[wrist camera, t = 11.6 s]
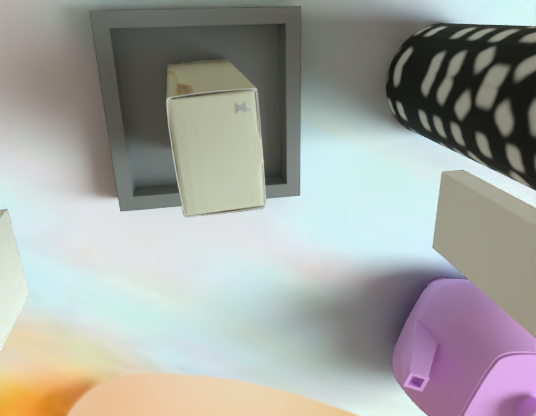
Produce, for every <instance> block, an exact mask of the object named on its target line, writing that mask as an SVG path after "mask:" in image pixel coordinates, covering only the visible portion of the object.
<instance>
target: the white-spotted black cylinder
mask: <svg viewBox="0 0 536 416" xmlns="http://www.w3.org/2000/svg"><path fill="white" fill-rule="evenodd" d="M386 90H387V99H388V103H389V107H390V109H391V111H392V113H393V115H394V116H395V117H396V119H397V120H398V121H399V122H400V123H401V124H402V125H403V126H405V127H406V128H407V129H409V130H412V131H414V132H416V133H418V134H420V135H422V136H424V137H426V138H428V139H430V140H432V141H434V142H436V143H438V144H441V145H443V146H445V147H447V148H449V149H451V150H453V151H455V152H457V153H459V154H461V155H463V156H465V157H468V158H470V159H472V160H474V161H476V162H478V163H480V164H482V165H484V166H486V167H488V168H490V169H492V170H495V171H497V172H499V173H501V174H503V175H505V176H507V177H509V178H511V179H513V180H515V181H517V182H519V183H522V184H524V185H526V186H528V187H530V188H532V189H534V190H536V26H511V25H477V24H443V23H441V24H436V25H431V26H428V27H426V28H424V29H421V30H420V31H418V32H417V33H415V34H414V35H412V36H411V37H410V38H409V39H408V40H407V41H406V42H405V43H404V44H403V45H402V46H401V48H400V49H399V50H398V52H397V53H396V55H395V57H394V59H393V61H392V63H391V66H390V69H389V72H388V76H387V84H386Z"/></svg>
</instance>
